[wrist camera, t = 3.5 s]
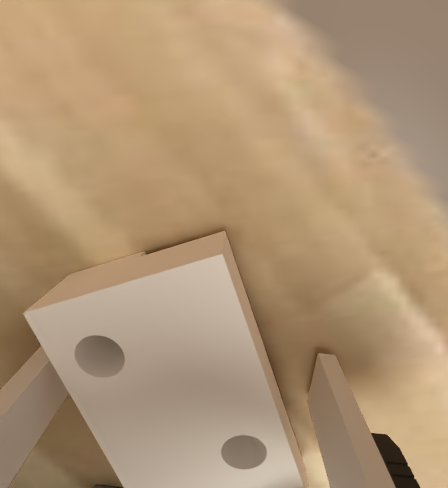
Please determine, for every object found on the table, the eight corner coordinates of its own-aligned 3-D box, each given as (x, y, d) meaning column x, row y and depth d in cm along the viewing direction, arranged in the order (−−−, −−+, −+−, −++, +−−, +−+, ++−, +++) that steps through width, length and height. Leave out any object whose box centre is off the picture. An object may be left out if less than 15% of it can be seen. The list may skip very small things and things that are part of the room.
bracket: (301, 451, 17) (350, 677, 10) (176, 477, 18) (138, 702, 11) (225, 224, 13) (215, 325, 6) (72, 271, 14) (-91, 408, 7)
